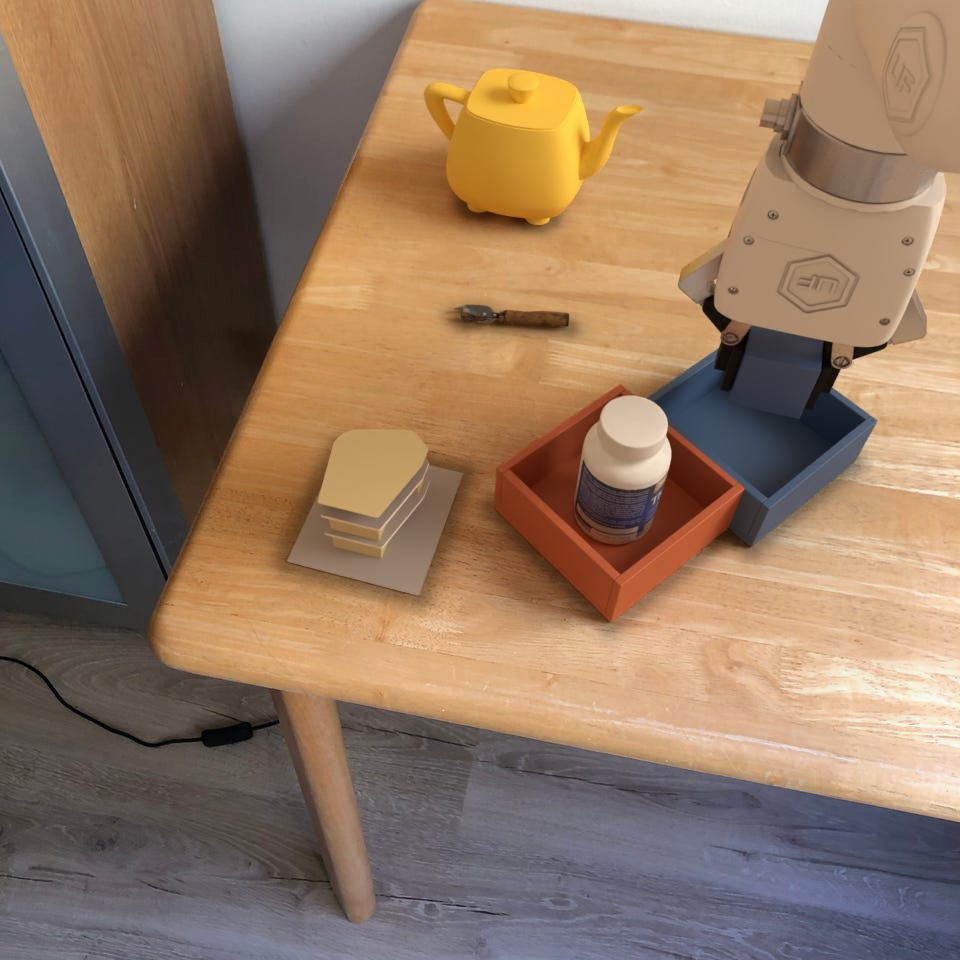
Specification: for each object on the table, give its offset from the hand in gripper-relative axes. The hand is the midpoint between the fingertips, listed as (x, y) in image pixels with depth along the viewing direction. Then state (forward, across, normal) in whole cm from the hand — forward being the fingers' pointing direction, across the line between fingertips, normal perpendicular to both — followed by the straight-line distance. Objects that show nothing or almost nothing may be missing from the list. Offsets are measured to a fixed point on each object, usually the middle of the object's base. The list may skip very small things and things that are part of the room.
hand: (768, 382), depth 62 cm
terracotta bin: (+7, -8, -8) cm, 13 cm away
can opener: (+8, -19, +8) cm, 22 cm away
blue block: (0, 0, 0) cm, 0 cm away
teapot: (+8, -22, +23) cm, 33 cm away
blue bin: (+7, 0, 0) cm, 7 cm away
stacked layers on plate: (+8, -23, -12) cm, 27 cm away
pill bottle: (+7, -8, -8) cm, 13 cm away
